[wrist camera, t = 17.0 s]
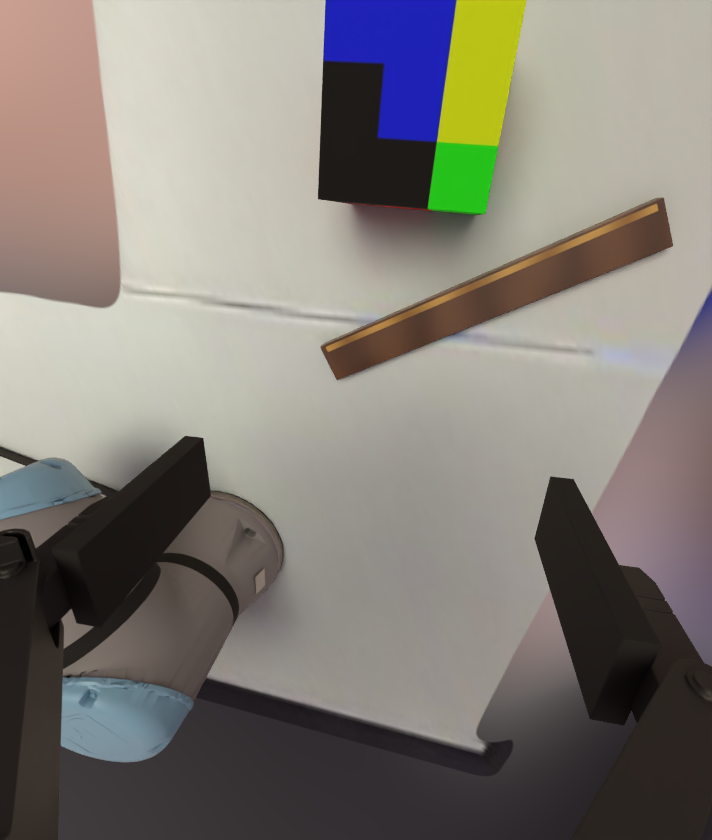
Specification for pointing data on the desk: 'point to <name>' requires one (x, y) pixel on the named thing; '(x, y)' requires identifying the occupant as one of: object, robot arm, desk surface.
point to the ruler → (505, 288)
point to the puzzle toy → (415, 101)
